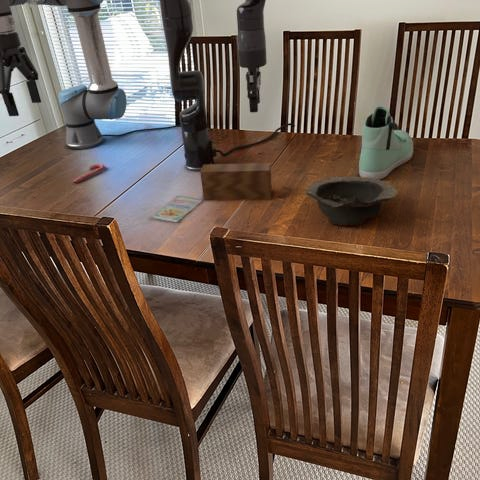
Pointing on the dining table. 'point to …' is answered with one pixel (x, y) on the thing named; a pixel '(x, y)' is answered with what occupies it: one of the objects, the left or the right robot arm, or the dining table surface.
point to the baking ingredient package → (176, 209)
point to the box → (236, 181)
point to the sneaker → (383, 145)
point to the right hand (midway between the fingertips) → (255, 107)
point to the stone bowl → (350, 198)
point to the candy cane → (100, 168)
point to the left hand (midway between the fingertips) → (25, 109)
